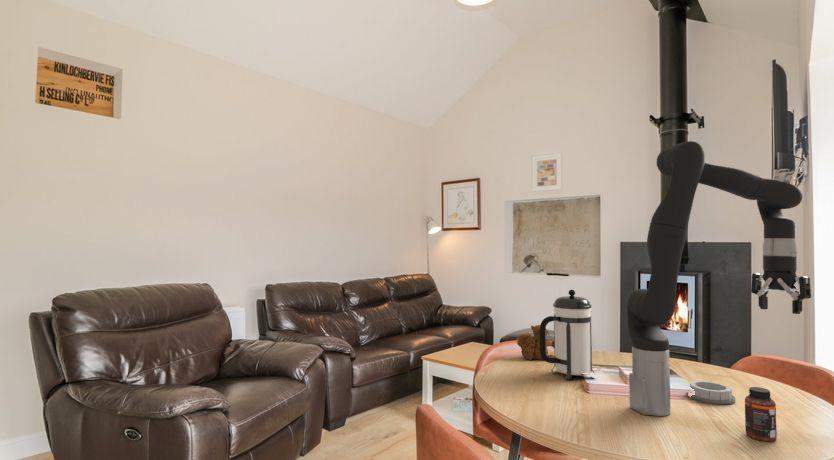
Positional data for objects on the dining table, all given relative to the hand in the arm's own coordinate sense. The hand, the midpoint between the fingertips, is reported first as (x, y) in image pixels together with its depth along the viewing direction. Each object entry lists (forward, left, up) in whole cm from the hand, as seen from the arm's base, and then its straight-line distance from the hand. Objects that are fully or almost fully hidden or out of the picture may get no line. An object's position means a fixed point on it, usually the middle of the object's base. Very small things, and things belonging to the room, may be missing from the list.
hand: (779, 311), depth 129 cm
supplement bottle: (-25, -17, -27) cm, 40 cm away
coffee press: (-45, +37, -27) cm, 64 cm away
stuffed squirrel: (-46, +62, -27) cm, 82 cm away
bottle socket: (-15, +9, -27) cm, 32 cm away
